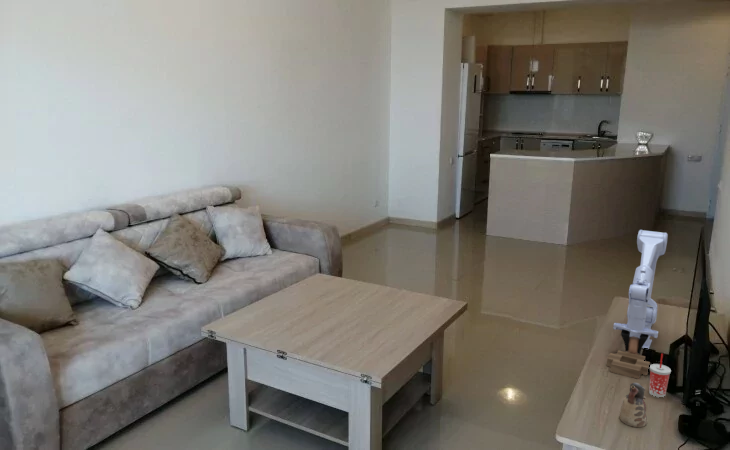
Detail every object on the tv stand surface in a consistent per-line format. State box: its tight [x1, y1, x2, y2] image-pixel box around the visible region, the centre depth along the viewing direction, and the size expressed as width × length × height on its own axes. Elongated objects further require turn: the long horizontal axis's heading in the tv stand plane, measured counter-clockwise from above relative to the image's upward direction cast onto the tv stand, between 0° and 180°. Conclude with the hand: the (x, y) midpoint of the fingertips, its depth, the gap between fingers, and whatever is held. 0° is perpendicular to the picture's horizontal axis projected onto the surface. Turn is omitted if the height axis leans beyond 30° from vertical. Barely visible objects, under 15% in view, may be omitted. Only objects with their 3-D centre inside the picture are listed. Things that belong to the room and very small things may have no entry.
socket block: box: [606, 349, 651, 380], centre depth 198 cm, size 13×13×3 cm
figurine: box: [619, 382, 647, 428], centre depth 165 cm, size 7×7×12 cm
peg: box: [627, 336, 639, 355], centre depth 205 cm, size 4×4×7 cm
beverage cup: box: [648, 352, 672, 398], centre depth 179 cm, size 6×6×14 cm
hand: (632, 351), depth 205 cm, fingers closed on peg, 3 cm apart
